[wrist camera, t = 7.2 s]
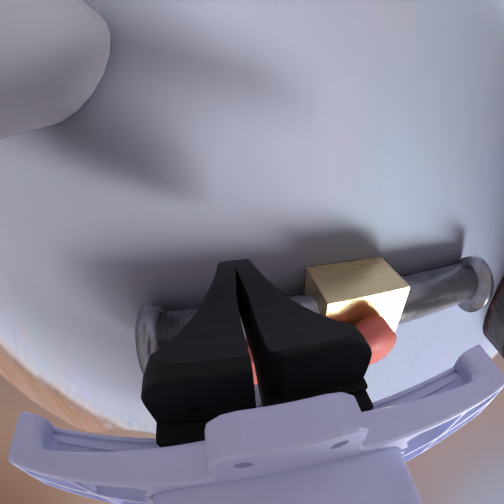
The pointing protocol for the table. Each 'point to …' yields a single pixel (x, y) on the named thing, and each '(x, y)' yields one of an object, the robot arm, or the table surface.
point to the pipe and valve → (353, 297)
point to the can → (48, 61)
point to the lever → (367, 339)
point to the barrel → (496, 320)
